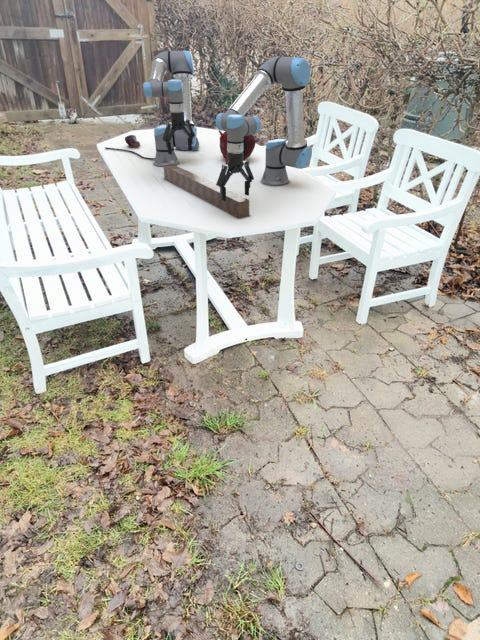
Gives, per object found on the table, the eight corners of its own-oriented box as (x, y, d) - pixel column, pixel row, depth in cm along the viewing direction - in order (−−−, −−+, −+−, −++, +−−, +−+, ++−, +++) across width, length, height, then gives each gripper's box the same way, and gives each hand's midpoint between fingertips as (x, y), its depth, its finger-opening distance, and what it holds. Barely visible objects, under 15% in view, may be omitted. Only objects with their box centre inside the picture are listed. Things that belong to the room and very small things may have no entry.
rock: (137, 146, 338) (124, 147, 334) (135, 134, 334) (122, 135, 330) (142, 146, 329) (128, 148, 324) (140, 134, 325) (126, 135, 321)
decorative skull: (216, 133, 304) (216, 130, 280) (250, 125, 303) (253, 121, 280) (223, 165, 311) (223, 165, 287) (256, 157, 310) (259, 157, 286)
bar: (164, 178, 268) (163, 165, 263) (173, 177, 271) (171, 163, 266) (239, 218, 216) (239, 202, 211) (249, 215, 218) (249, 199, 214)
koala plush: (199, 151, 320) (197, 121, 309) (174, 151, 319) (171, 122, 308) (199, 145, 334) (197, 116, 323) (175, 145, 333) (172, 117, 322)
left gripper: (160, 115, 236) (164, 157, 248) (199, 109, 249) (201, 149, 261) (153, 113, 241) (157, 154, 253) (192, 108, 254) (194, 147, 266)
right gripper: (217, 157, 197) (218, 204, 208) (261, 149, 209) (260, 194, 220) (207, 154, 202) (209, 200, 213) (252, 146, 214) (251, 190, 226)
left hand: (180, 152), depth 257 cm, fingers open, 13 cm apart
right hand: (235, 197), depth 217 cm, fingers open, 13 cm apart
